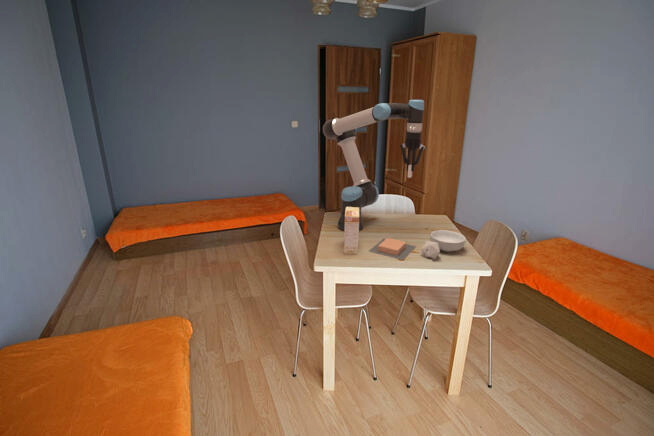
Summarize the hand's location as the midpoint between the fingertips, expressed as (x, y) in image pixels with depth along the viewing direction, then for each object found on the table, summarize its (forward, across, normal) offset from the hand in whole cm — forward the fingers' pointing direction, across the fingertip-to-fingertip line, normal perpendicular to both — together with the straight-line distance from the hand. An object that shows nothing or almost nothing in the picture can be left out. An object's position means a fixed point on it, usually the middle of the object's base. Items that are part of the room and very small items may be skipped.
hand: (409, 177), depth 185 cm
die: (+33, +21, -23) cm, 45 cm away
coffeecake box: (+33, -16, -34) cm, 50 cm away
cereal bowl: (+33, +25, -8) cm, 42 cm away
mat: (+32, +3, -26) cm, 41 cm away
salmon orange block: (+30, +3, -20) cm, 36 cm away
